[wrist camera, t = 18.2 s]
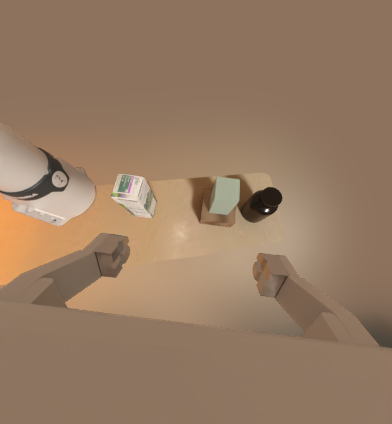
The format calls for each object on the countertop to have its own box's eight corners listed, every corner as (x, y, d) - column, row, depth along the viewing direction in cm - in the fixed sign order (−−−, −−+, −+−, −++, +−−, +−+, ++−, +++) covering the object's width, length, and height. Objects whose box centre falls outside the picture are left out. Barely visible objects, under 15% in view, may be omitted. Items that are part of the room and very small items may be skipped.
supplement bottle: (265, 206, 46) (289, 188, 35) (260, 226, 44) (284, 215, 33) (244, 198, 47) (261, 179, 35) (238, 218, 45) (254, 204, 33)
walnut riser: (199, 223, 44) (200, 218, 39) (202, 195, 47) (204, 188, 42) (230, 227, 44) (234, 223, 39) (231, 198, 47) (236, 192, 42)
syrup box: (138, 198, 46) (116, 172, 32) (157, 200, 46) (143, 175, 32) (134, 216, 44) (108, 196, 30) (153, 218, 44) (137, 200, 30)
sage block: (208, 212, 40) (214, 198, 30) (210, 195, 41) (216, 176, 32) (227, 214, 40) (239, 201, 30) (228, 197, 41) (239, 179, 32)
